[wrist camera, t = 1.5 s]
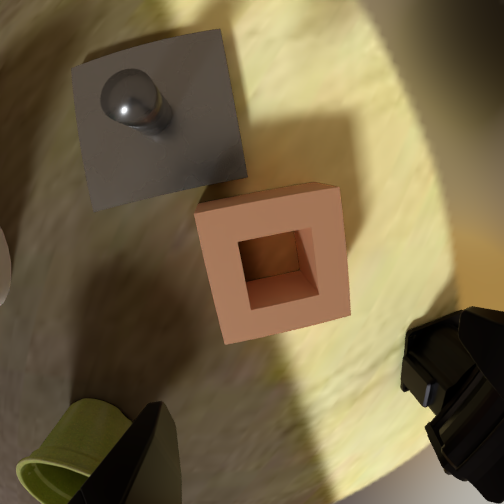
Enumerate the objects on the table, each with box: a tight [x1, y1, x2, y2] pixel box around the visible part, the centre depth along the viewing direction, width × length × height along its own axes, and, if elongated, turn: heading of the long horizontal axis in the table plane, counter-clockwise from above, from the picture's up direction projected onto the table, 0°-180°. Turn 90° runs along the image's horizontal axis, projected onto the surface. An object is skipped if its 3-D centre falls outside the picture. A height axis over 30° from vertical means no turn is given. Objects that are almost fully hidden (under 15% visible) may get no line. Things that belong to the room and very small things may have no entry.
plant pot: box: [16, 398, 132, 504], centre depth 18 cm, size 9×9×9 cm
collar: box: [194, 182, 351, 345], centre depth 18 cm, size 7×7×4 cm
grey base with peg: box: [71, 29, 248, 212], centre depth 13 cm, size 9×9×6 cm
